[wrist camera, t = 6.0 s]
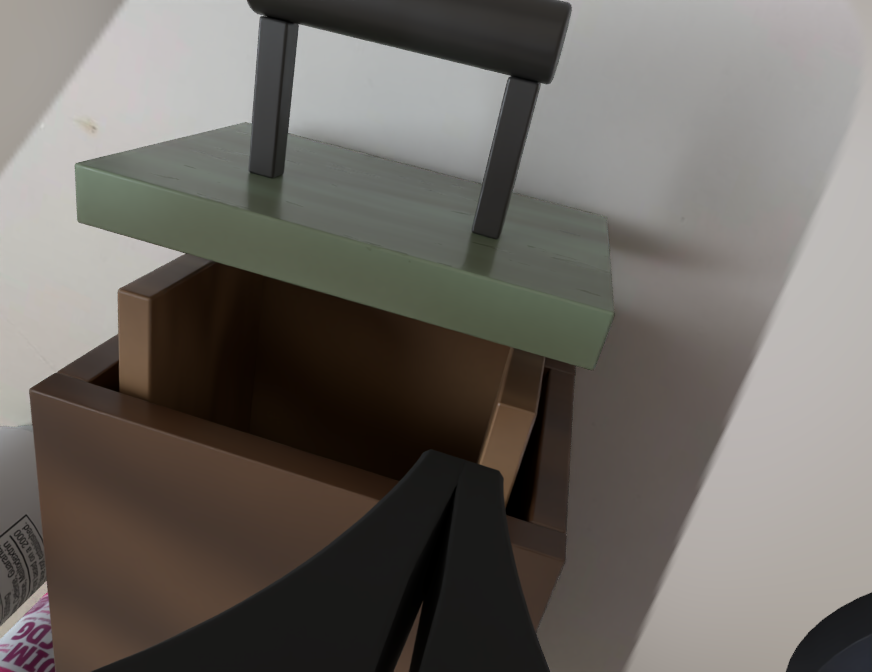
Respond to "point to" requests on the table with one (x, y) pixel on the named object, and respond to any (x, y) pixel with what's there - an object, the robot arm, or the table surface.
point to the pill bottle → (29, 642)
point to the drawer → (358, 260)
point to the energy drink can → (19, 520)
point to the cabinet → (223, 510)
